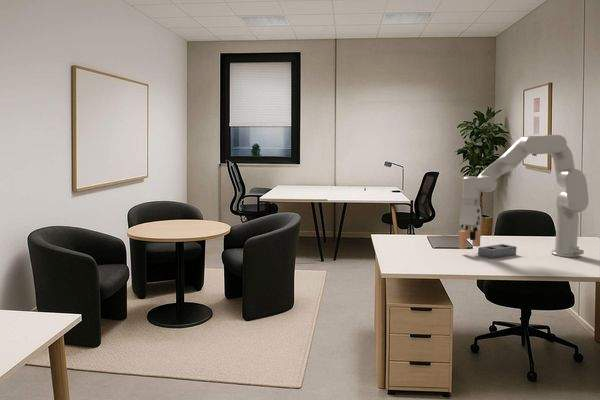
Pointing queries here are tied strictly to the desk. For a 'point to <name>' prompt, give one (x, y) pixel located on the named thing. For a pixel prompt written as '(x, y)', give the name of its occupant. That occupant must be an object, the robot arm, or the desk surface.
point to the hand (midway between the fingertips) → (469, 239)
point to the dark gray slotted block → (496, 251)
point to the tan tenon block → (466, 234)
